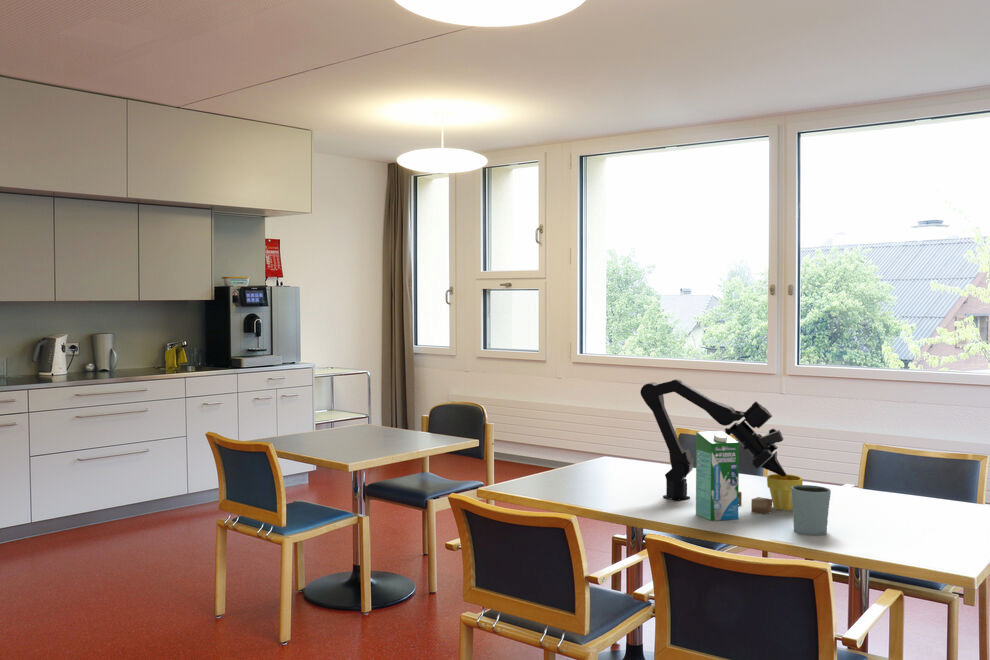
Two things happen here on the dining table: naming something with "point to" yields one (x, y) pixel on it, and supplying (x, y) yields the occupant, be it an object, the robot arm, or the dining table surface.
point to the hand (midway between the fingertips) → (785, 475)
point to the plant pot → (782, 490)
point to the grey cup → (810, 509)
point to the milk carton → (717, 475)
